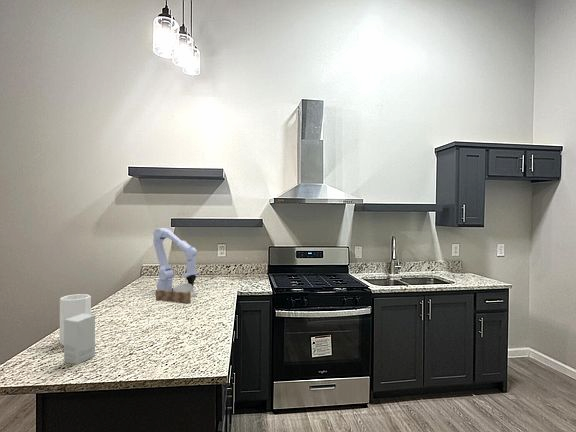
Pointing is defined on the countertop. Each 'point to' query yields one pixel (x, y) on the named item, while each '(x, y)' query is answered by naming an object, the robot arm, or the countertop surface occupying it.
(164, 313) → the countertop surface
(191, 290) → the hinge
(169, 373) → the countertop surface
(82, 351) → the skincare box
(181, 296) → the walnut bracket
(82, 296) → the cup
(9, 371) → the countertop surface
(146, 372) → the countertop surface
